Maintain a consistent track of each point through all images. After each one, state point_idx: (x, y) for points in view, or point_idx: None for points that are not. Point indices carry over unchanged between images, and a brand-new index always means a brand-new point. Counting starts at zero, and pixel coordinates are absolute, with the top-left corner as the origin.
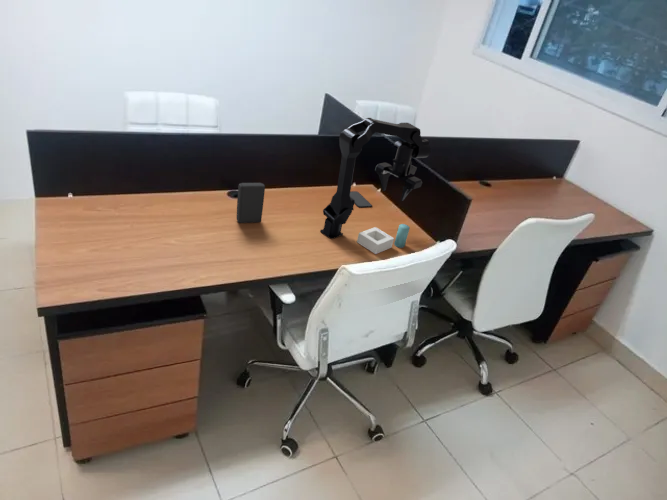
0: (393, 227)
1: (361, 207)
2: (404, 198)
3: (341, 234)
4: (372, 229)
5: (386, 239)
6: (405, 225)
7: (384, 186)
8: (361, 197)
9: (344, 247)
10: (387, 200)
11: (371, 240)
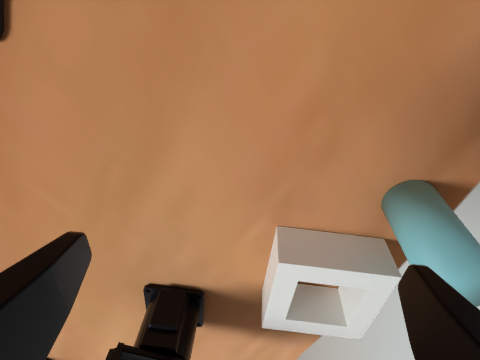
0: (304, 68)
1: (2, 23)
2: (452, 301)
3: (202, 300)
4: (282, 284)
5: (373, 302)
6: (468, 275)
7: (50, 326)
8: None
9: (256, 325)
10: None
11: (327, 335)
